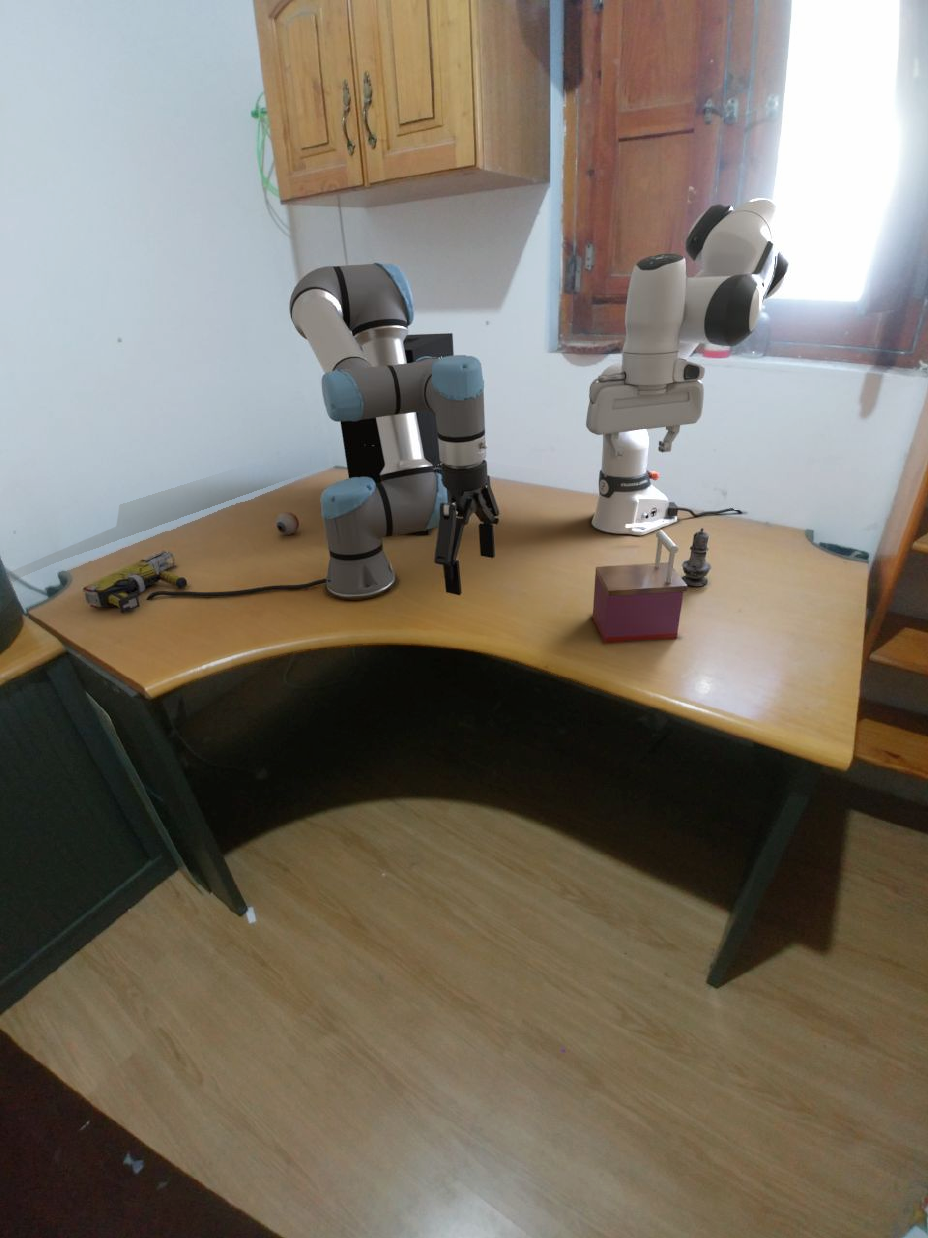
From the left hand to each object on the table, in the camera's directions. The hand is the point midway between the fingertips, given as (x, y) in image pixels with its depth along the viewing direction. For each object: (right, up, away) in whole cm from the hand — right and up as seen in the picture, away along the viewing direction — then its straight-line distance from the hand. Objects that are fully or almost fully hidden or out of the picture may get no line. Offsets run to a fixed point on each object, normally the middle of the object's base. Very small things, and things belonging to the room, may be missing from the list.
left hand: (471, 573), depth 109 cm
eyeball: (-49, +15, +56) cm, 76 cm away
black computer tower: (-16, +24, +68) cm, 74 cm away
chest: (+31, -10, +5) cm, 33 cm away
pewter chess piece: (+48, 0, +20) cm, 52 cm away
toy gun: (-73, -2, +30) cm, 79 cm away
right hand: (+30, +21, -4) cm, 36 cm away
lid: (+31, -1, 0) cm, 31 cm away
